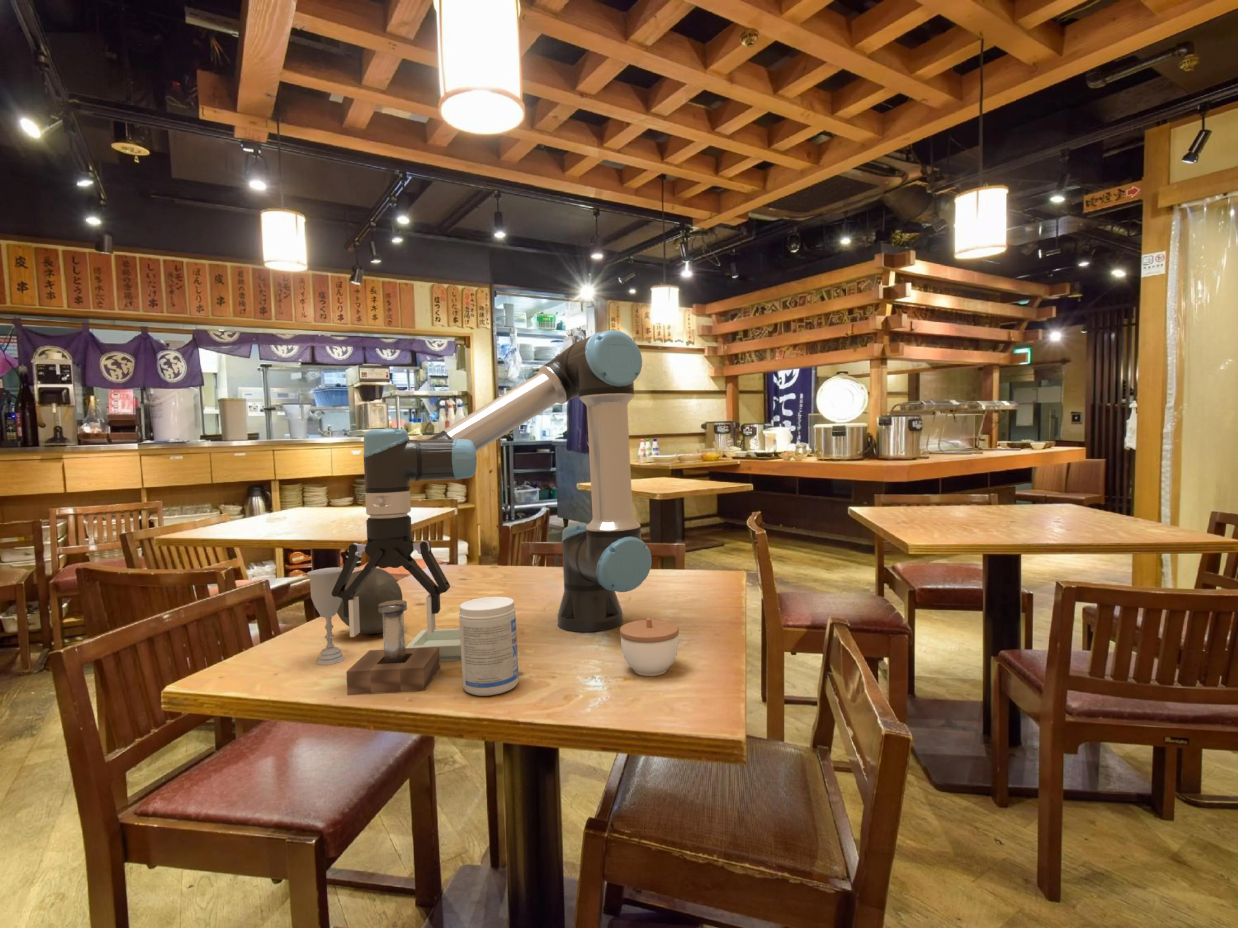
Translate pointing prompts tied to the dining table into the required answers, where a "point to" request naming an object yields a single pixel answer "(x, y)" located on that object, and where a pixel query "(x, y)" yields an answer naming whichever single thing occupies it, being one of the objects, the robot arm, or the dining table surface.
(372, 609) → the dark grey ball
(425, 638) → the tray
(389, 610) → the metal pin
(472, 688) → the supplement tub
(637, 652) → the lidded jar
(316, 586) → the chalice
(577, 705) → the dining table surface
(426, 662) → the block
